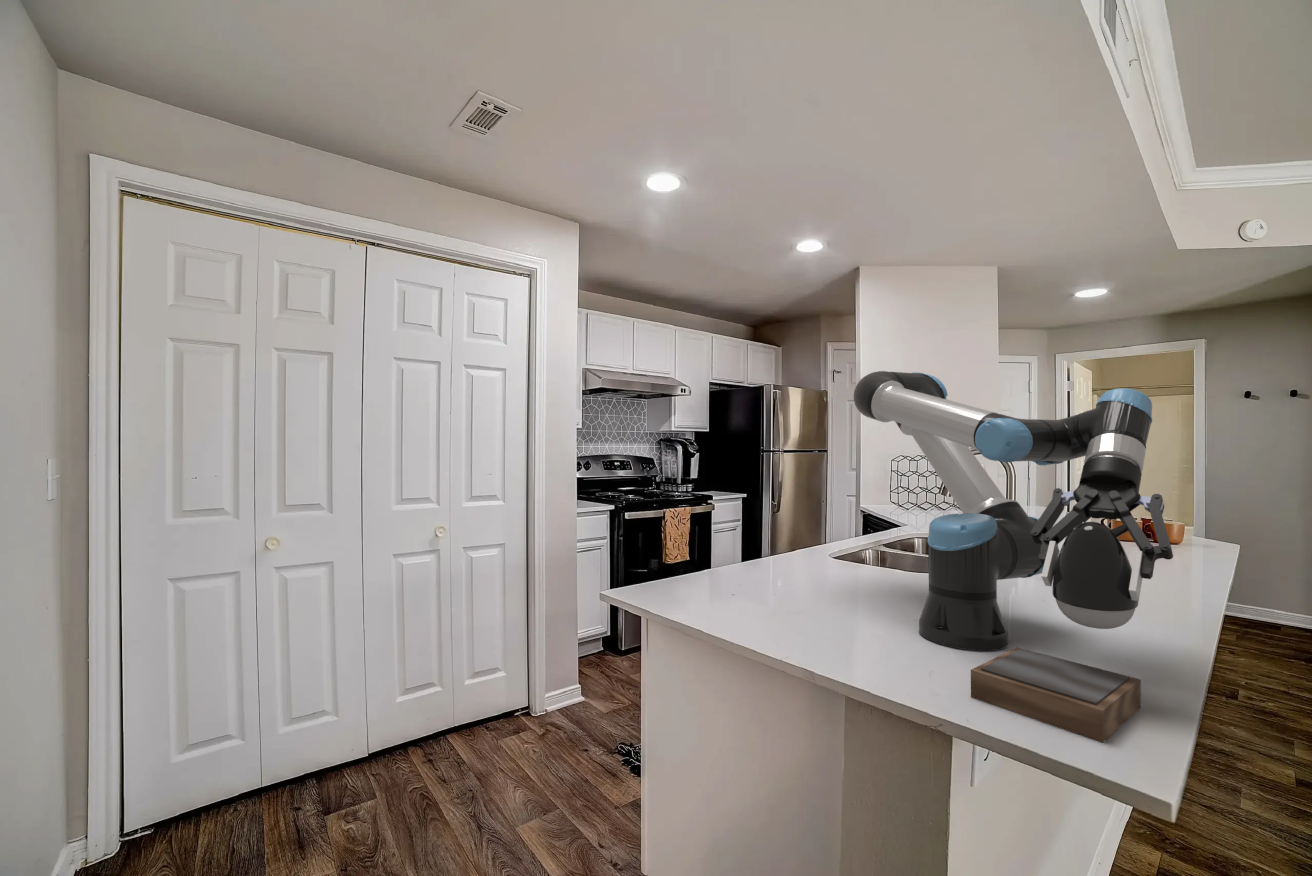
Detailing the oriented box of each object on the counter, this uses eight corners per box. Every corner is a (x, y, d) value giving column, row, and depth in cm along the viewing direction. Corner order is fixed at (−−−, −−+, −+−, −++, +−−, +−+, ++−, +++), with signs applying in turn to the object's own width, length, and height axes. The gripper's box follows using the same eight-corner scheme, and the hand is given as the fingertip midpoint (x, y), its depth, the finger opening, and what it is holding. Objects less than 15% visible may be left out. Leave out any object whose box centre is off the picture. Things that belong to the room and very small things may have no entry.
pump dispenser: (1160, 632, 81) (1157, 526, 80) (1088, 638, 80) (1086, 531, 80) (1100, 608, 91) (1098, 513, 90) (1037, 613, 91) (1034, 518, 90)
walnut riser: (1103, 742, 72) (1102, 708, 72) (970, 697, 85) (970, 667, 85) (1141, 707, 81) (1140, 677, 81) (1016, 671, 94) (1016, 645, 94)
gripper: (1209, 487, 86) (1195, 619, 77) (1038, 479, 103) (1009, 586, 94) (1204, 455, 83) (1188, 590, 73) (1027, 452, 100) (996, 561, 90)
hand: (1087, 588), depth 83 cm, fingers closed on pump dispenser, 10 cm apart
